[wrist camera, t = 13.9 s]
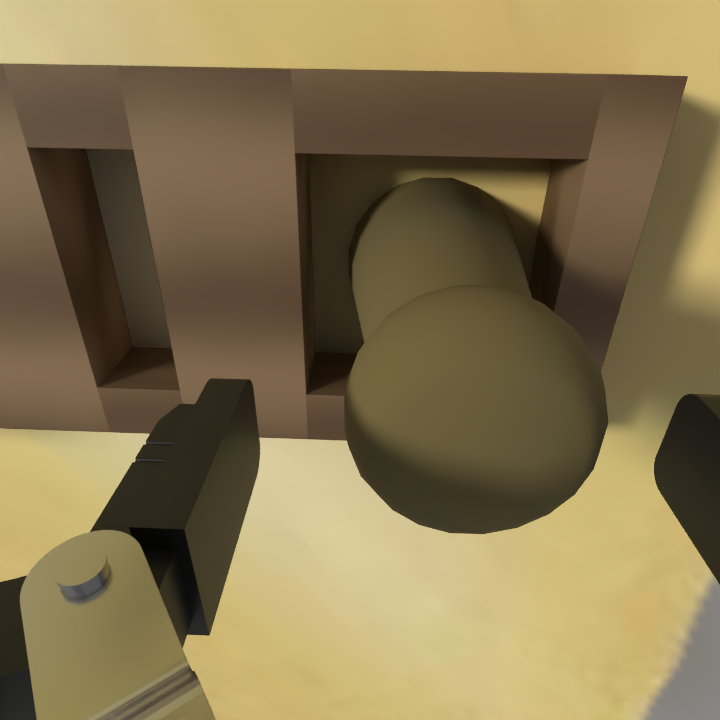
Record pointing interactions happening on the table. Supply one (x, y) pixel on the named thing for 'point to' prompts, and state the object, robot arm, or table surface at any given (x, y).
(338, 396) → the brown slatted wooden frame
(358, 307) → the cork
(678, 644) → the table surface
